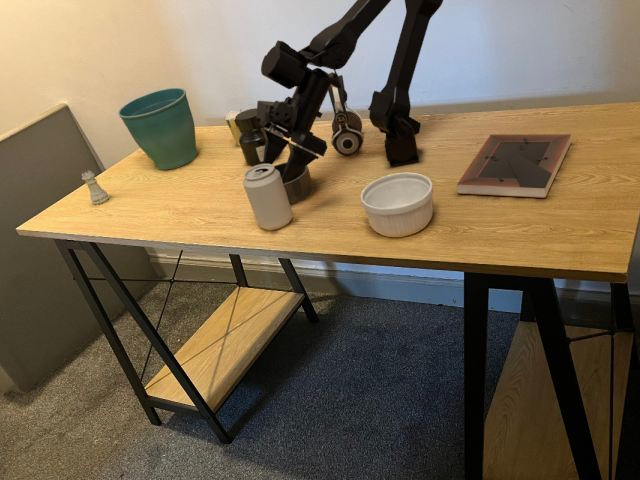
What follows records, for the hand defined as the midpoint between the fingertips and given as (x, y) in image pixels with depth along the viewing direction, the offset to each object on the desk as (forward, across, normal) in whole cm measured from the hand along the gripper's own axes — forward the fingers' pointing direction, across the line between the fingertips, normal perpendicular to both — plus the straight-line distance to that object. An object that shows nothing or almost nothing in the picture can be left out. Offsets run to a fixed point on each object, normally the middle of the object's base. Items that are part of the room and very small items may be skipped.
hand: (274, 174), depth 114 cm
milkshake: (0, -48, +14) cm, 50 cm away
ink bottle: (0, -33, +14) cm, 36 cm away
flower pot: (+12, -57, +2) cm, 58 cm away
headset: (-12, -17, +26) cm, 33 cm away
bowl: (+3, -9, +10) cm, 14 cm away
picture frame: (-22, +24, +35) cm, 48 cm away
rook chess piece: (+28, -52, -14) cm, 61 cm away
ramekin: (-3, +22, +17) cm, 28 cm away
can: (+9, 0, +5) cm, 10 cm away
